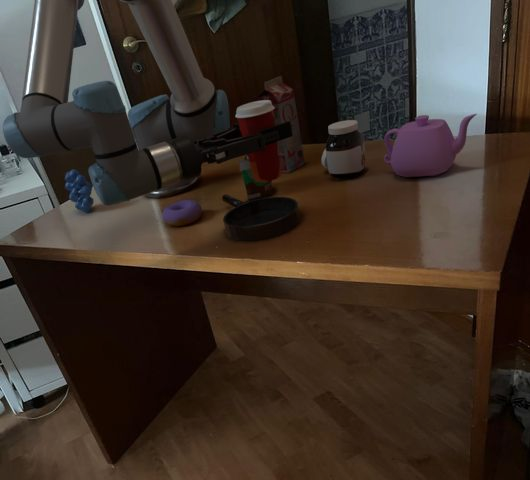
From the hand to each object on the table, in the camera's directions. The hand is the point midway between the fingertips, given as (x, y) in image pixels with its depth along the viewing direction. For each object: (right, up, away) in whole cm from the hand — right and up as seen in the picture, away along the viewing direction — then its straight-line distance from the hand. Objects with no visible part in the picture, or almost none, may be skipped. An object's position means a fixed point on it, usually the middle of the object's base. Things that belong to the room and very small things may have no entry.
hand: (280, 126), depth 105 cm
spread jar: (+16, -1, +26) cm, 30 cm away
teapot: (+34, -4, +15) cm, 37 cm away
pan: (-3, -18, +8) cm, 20 cm away
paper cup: (-2, -9, +4) cm, 10 cm away
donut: (-22, -14, +20) cm, 33 cm away
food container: (-3, -6, +25) cm, 26 cm away
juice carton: (+3, +5, +39) cm, 39 cm away
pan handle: (-10, -12, +18) cm, 24 cm away
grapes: (-52, -6, +43) cm, 68 cm away
